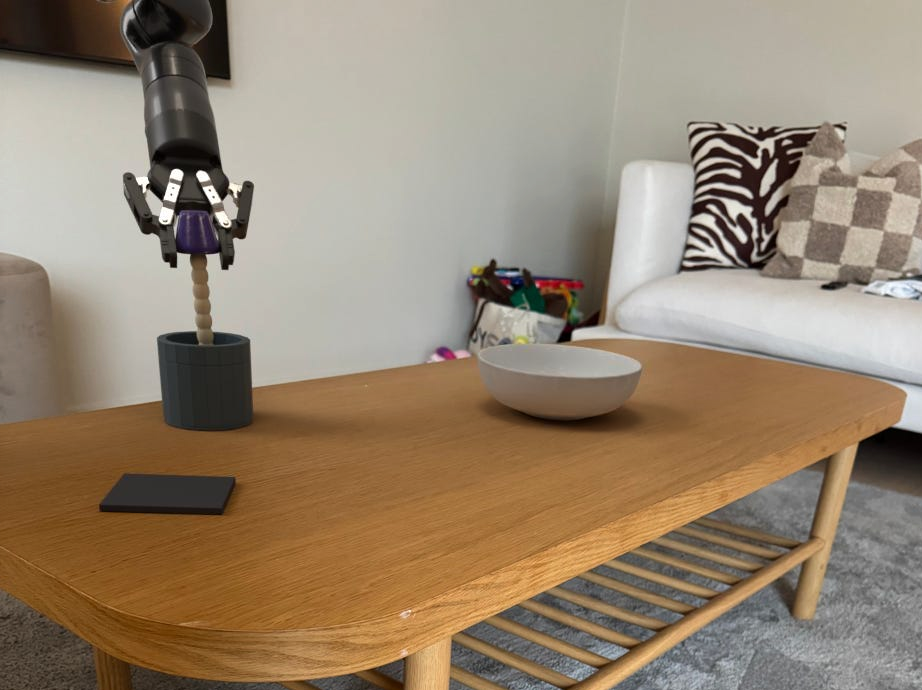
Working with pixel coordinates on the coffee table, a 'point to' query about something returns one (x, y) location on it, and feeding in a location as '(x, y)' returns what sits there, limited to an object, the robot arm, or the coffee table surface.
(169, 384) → the jar
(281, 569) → the coffee table surface
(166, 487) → the mat
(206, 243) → the toy lamp
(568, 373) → the serving bowl
